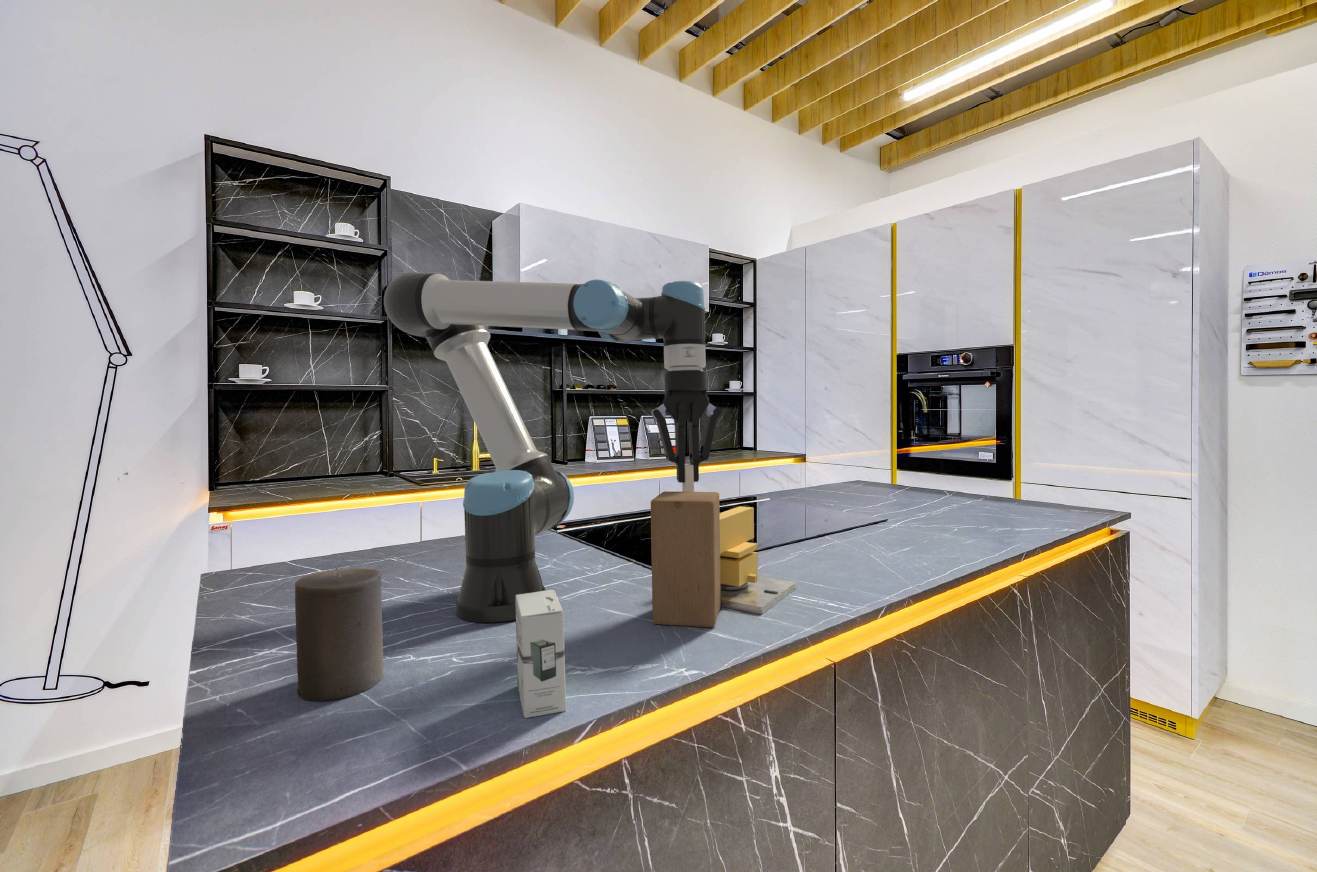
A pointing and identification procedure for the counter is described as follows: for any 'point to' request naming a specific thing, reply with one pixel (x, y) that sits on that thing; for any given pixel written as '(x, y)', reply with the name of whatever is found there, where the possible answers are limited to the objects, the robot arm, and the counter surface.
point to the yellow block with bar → (738, 547)
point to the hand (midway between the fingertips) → (688, 500)
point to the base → (755, 594)
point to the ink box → (540, 653)
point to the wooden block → (685, 558)
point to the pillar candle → (338, 633)
